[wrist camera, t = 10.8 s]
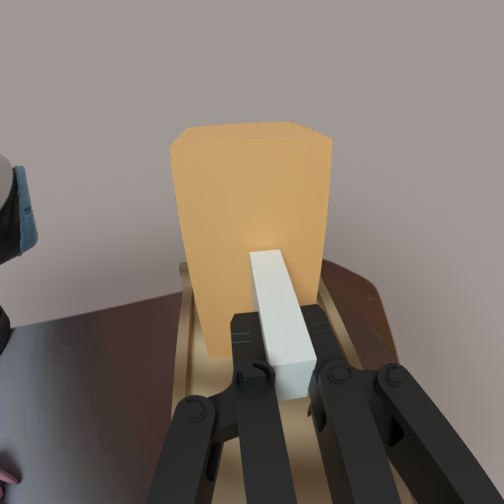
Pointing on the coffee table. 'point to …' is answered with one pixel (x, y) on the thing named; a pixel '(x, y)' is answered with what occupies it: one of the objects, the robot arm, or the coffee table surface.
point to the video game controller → (6, 479)
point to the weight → (249, 213)
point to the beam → (291, 411)
